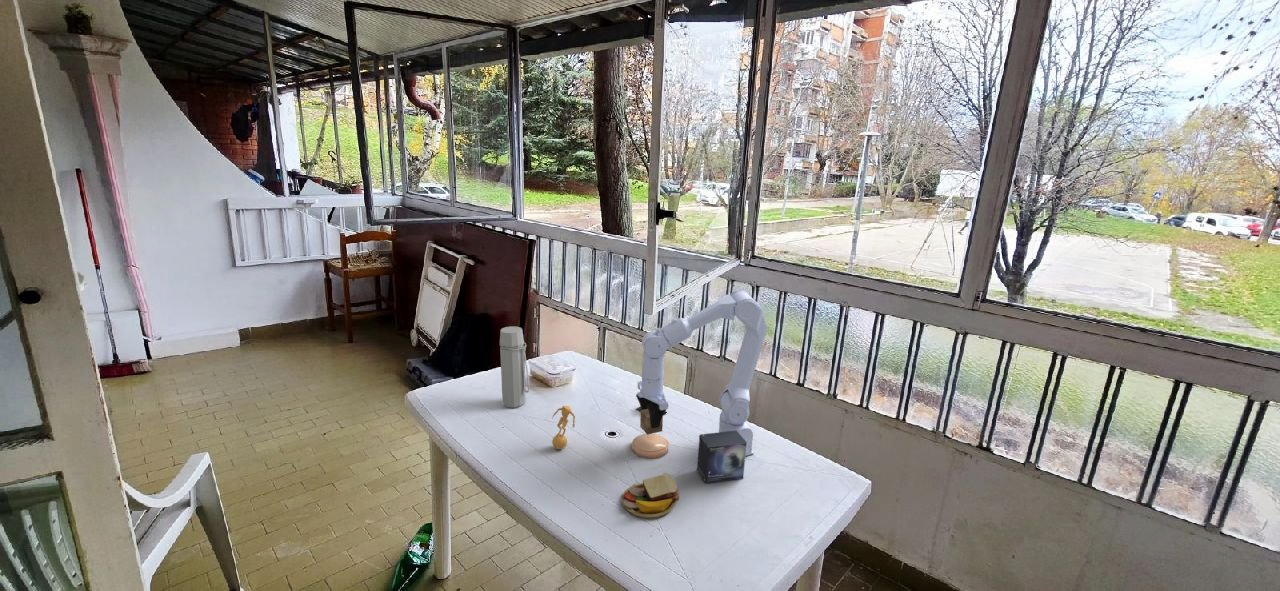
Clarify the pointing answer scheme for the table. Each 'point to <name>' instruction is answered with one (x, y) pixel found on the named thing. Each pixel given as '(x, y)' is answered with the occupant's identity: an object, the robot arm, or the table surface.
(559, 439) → the figurine
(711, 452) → the small box
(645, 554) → the table surface
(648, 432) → the walnut block
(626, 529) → the table surface
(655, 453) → the pedestal
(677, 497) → the toy sandwich meal
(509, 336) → the water bottle
